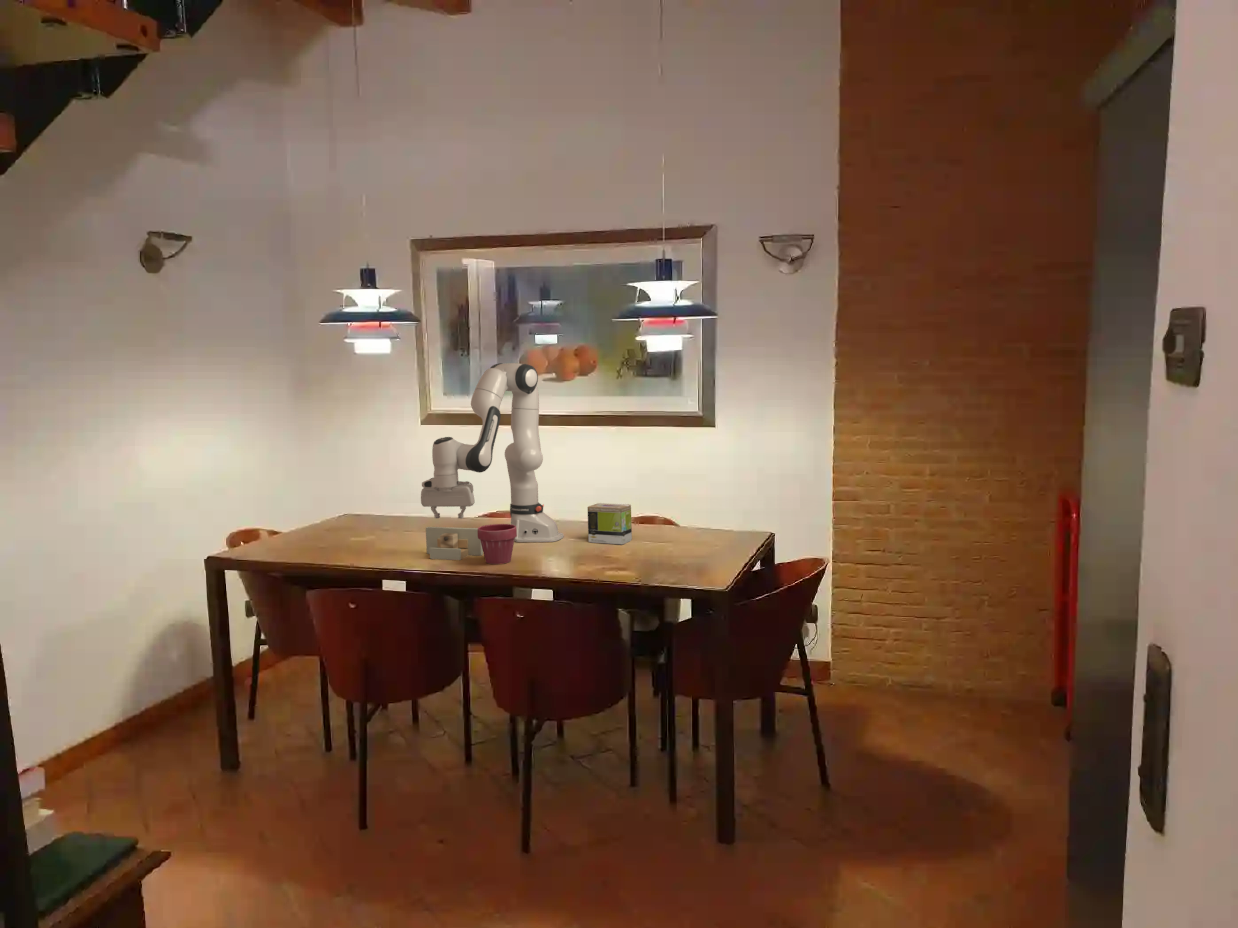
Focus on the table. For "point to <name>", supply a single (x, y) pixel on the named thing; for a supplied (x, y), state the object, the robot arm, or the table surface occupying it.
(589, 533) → the tea box
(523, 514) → the robot arm
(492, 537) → the plant pot
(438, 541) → the grey boxy piece
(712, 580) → the table surface
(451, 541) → the cabinet block
